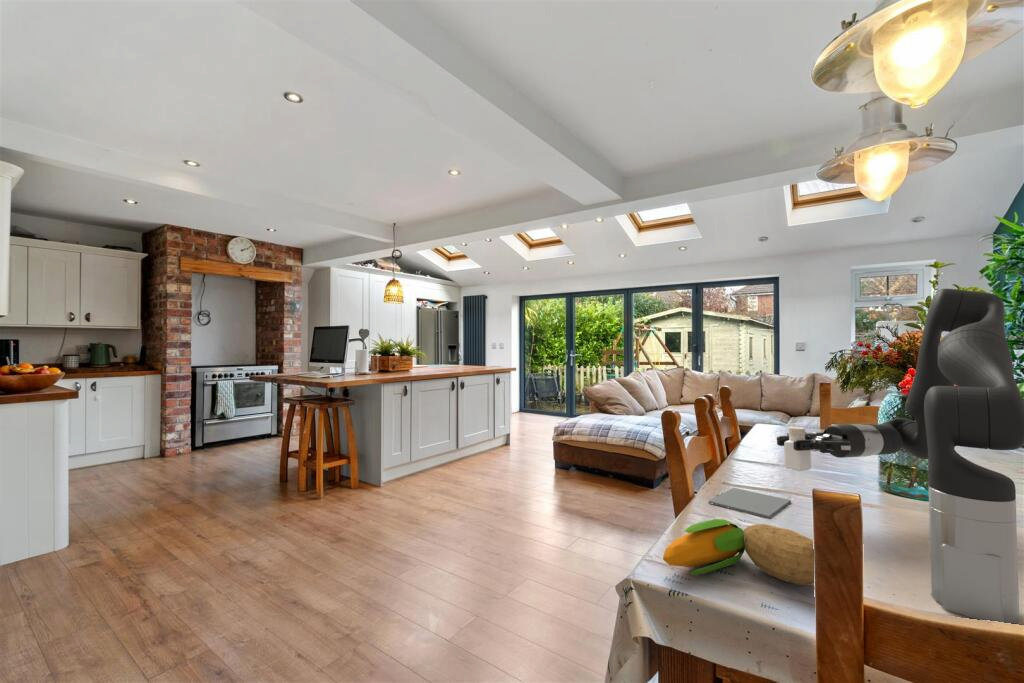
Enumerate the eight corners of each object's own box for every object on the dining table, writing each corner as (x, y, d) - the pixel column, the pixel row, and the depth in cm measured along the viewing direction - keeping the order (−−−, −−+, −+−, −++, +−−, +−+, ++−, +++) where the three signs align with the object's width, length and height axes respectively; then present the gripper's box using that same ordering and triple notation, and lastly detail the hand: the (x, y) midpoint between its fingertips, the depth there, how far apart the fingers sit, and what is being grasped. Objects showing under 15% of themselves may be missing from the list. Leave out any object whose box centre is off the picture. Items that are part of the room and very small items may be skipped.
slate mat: (769, 518, 102) (769, 515, 102) (708, 503, 112) (708, 500, 112) (790, 502, 112) (790, 499, 113) (733, 489, 123) (733, 487, 123)
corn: (757, 519, 81) (681, 541, 72) (761, 562, 81) (685, 590, 71) (722, 509, 88) (648, 529, 78) (725, 549, 87) (651, 573, 78)
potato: (763, 554, 84) (762, 512, 84) (845, 591, 71) (844, 541, 71) (727, 565, 80) (727, 521, 80) (808, 606, 67) (807, 553, 67)
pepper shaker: (812, 470, 100) (811, 428, 100) (800, 472, 99) (799, 429, 99) (795, 466, 104) (794, 425, 104) (783, 467, 102) (782, 427, 103)
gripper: (826, 419, 110) (764, 422, 108) (881, 429, 96) (810, 432, 94) (827, 449, 110) (764, 452, 108) (882, 464, 96) (811, 467, 94)
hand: (786, 443), depth 101 cm, fingers closed on pepper shaker, 4 cm apart
